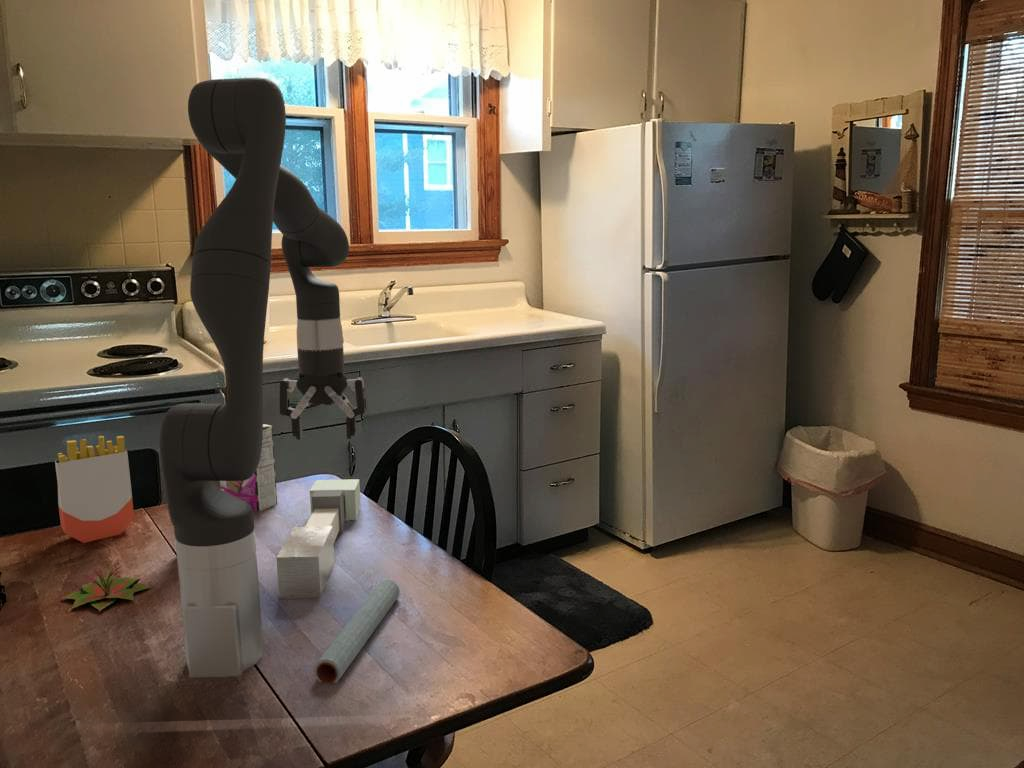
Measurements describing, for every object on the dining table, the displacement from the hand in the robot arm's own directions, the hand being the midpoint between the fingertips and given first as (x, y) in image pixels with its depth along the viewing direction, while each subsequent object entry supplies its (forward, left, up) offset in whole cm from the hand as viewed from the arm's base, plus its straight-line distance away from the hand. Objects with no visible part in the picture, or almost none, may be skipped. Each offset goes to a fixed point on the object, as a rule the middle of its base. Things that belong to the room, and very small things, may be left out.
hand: (325, 438), depth 142 cm
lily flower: (-22, +29, -18) cm, 41 cm away
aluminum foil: (-36, -9, -18) cm, 42 cm away
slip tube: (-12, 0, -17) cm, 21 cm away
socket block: (+7, 0, -17) cm, 19 cm away
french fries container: (+1, +40, -17) cm, 44 cm away
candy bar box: (+15, +18, -17) cm, 29 cm away
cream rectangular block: (-19, 0, -17) cm, 26 cm away
